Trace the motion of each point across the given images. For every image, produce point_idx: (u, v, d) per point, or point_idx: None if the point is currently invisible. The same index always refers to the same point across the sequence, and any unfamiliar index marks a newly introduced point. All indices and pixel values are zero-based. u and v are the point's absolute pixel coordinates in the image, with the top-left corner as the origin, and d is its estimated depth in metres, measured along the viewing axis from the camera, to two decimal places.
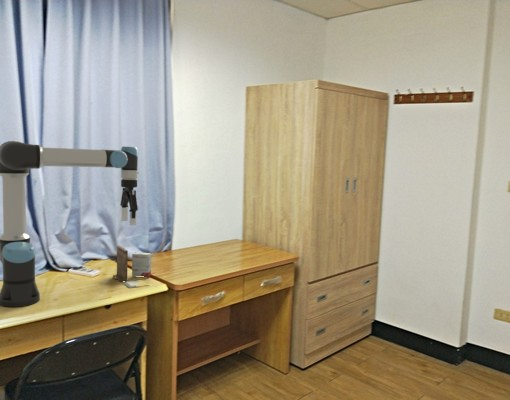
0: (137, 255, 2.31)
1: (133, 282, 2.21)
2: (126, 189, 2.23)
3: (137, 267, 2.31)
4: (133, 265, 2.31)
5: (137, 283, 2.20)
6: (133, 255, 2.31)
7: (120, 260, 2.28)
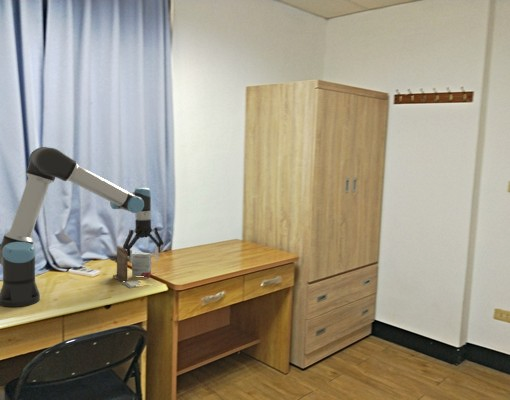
0: (137, 255, 2.31)
1: (133, 282, 2.21)
2: None
3: (137, 267, 2.31)
4: (133, 265, 2.31)
5: (137, 283, 2.20)
6: (133, 255, 2.31)
7: (120, 260, 2.28)
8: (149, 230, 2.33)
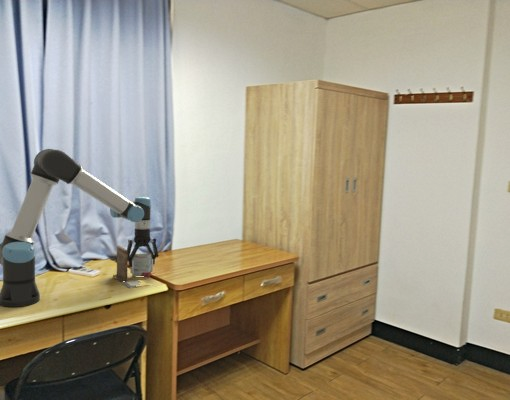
0: (137, 255, 2.31)
1: (133, 282, 2.21)
2: None
3: (137, 267, 2.31)
4: None
5: (137, 283, 2.20)
6: None
7: (120, 260, 2.28)
8: (148, 239, 2.33)
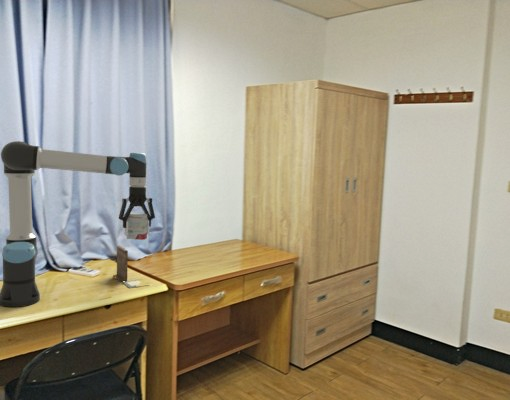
0: (132, 215, 2.15)
1: (133, 282, 2.21)
2: None
3: (132, 228, 2.15)
4: (128, 226, 2.15)
5: (137, 283, 2.20)
6: None
7: (120, 260, 2.28)
8: (143, 199, 2.17)
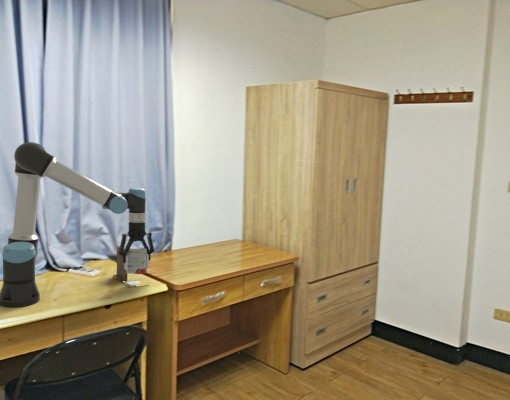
0: (131, 250, 2.16)
1: (133, 282, 2.21)
2: None
3: (131, 263, 2.17)
4: None
5: (137, 283, 2.20)
6: None
7: (120, 260, 2.28)
8: (143, 233, 2.18)
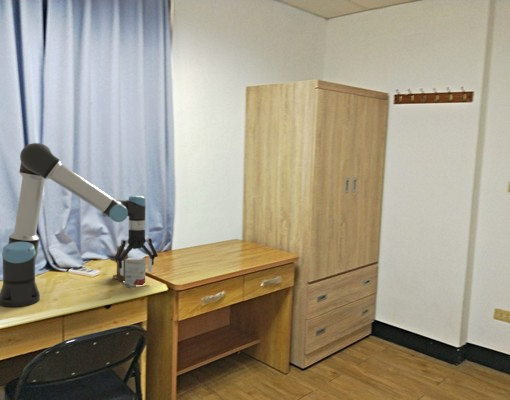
0: (130, 261, 2.17)
1: None
2: None
3: (130, 274, 2.17)
4: (126, 271, 2.17)
5: None
6: (126, 261, 2.17)
7: None
8: (143, 241, 2.19)
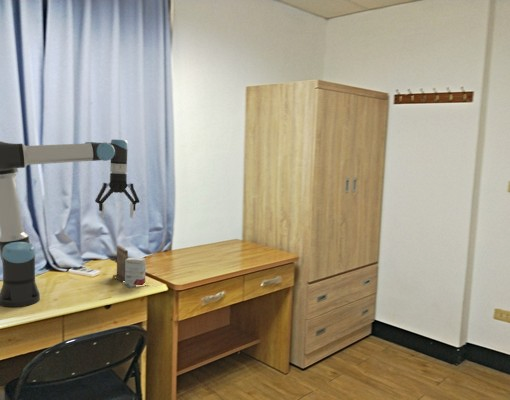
0: (130, 261, 2.17)
1: None
2: None
3: (130, 274, 2.17)
4: (126, 271, 2.17)
5: None
6: (126, 261, 2.17)
7: (120, 260, 2.28)
8: (124, 185, 2.19)
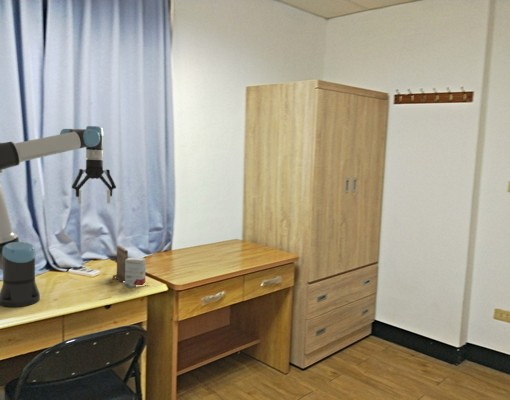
0: (130, 261, 2.17)
1: None
2: None
3: (130, 274, 2.17)
4: (126, 271, 2.17)
5: None
6: (126, 261, 2.17)
7: (120, 260, 2.28)
8: (100, 171, 2.22)
